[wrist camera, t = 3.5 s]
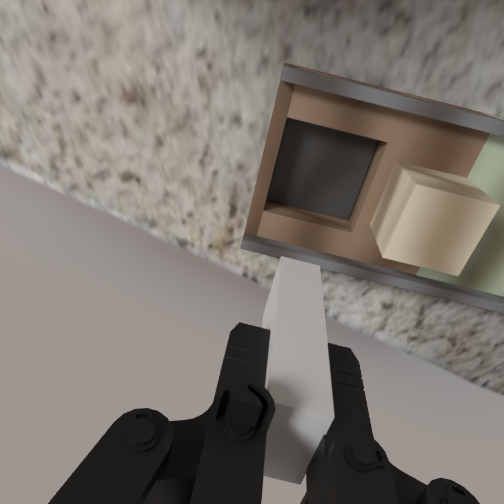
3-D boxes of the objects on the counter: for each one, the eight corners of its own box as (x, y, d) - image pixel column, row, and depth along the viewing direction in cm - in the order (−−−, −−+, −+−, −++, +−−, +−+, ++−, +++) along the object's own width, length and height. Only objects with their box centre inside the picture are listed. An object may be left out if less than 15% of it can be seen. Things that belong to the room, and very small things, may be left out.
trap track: (246, 228, 32) (240, 248, 29) (285, 62, 26) (283, 65, 23) (593, 313, 33) (625, 343, 30) (716, 171, 26) (773, 189, 23)
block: (369, 224, 28) (382, 257, 24) (396, 160, 26) (416, 184, 22) (434, 240, 29) (458, 276, 24) (466, 178, 26) (500, 205, 22)
